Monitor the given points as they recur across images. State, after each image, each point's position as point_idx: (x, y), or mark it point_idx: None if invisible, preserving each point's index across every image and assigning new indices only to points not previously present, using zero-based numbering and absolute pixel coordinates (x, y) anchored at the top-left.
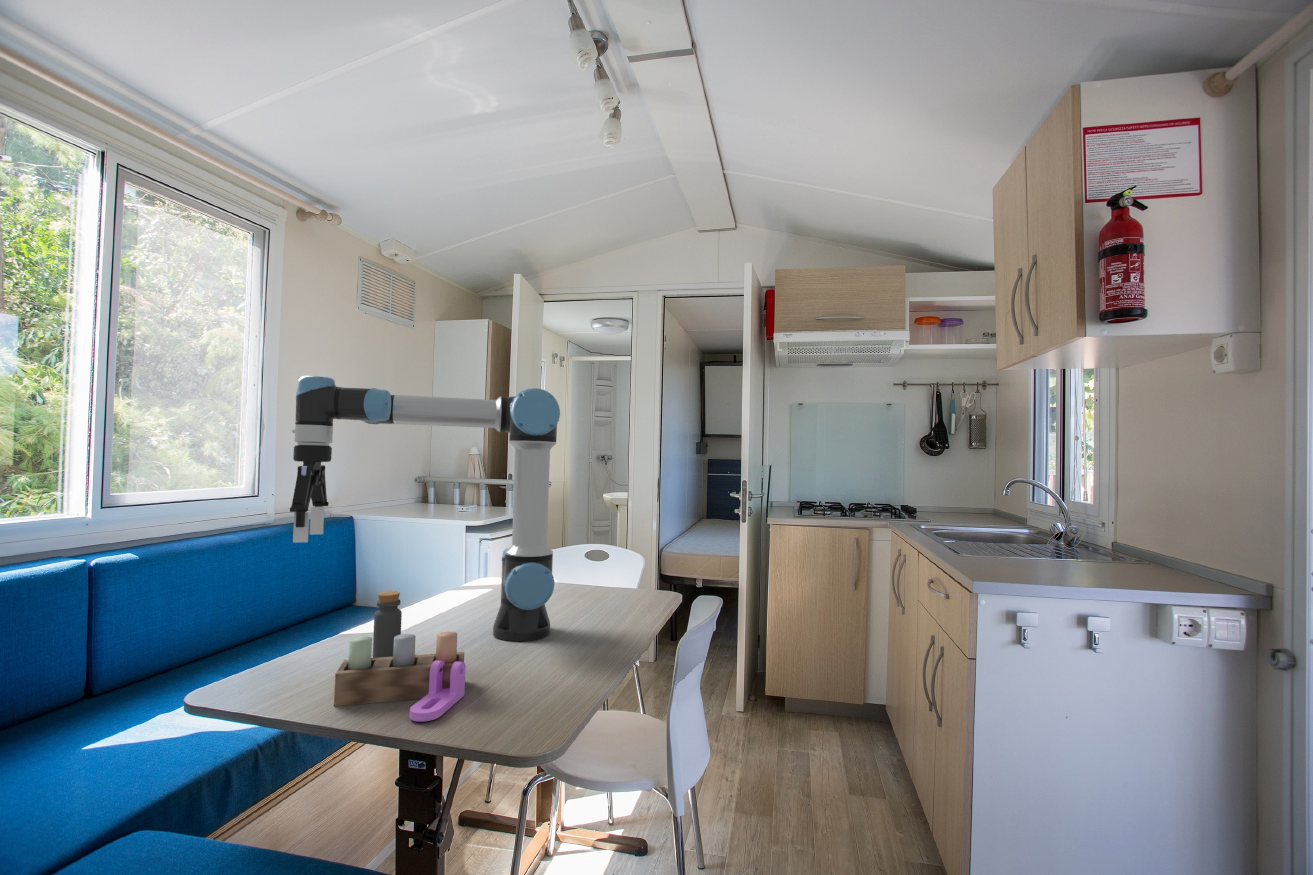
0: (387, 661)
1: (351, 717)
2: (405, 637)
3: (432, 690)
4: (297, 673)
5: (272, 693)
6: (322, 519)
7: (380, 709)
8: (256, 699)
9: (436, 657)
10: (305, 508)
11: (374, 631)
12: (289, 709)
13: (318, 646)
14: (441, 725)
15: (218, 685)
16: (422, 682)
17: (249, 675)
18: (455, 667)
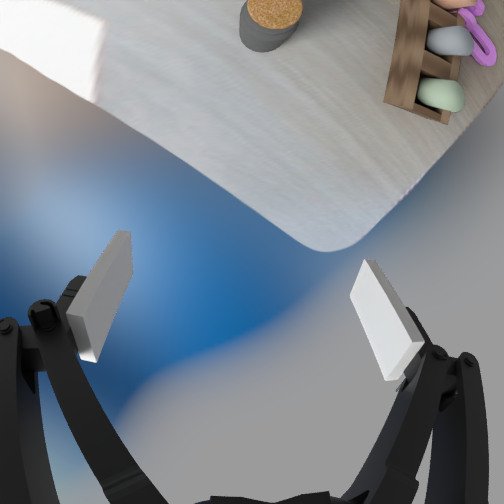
0: (431, 57)
1: None
2: (465, 41)
3: None
4: (288, 155)
5: (355, 179)
6: (108, 272)
7: None
8: (366, 194)
9: (451, 8)
10: (462, 355)
11: (275, 45)
12: (412, 160)
13: (154, 140)
14: (495, 47)
15: (295, 239)
16: None
17: (270, 213)
18: (483, 10)
